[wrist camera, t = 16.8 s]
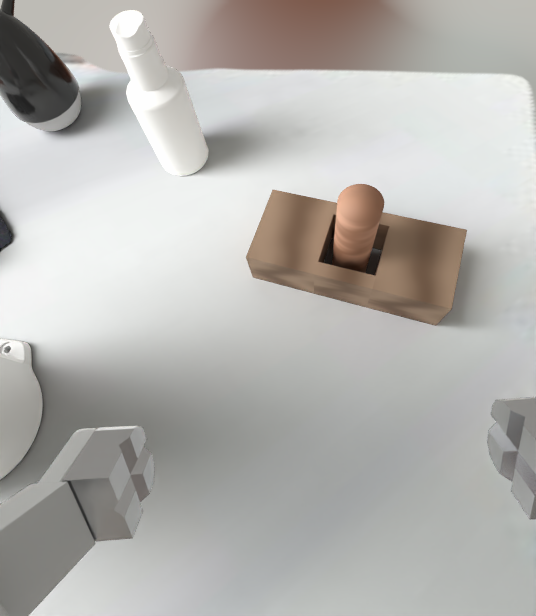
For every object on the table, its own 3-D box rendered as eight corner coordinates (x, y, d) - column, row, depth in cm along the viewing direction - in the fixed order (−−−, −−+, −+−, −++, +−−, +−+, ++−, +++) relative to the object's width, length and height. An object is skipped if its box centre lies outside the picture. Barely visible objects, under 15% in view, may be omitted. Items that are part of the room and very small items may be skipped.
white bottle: (206, 133, 54) (158, -9, 38) (212, 171, 52) (163, 35, 35) (160, 144, 54) (92, 8, 38) (163, 182, 52) (92, 53, 35)
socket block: (253, 277, 45) (245, 257, 40) (276, 215, 48) (272, 189, 43) (435, 325, 41) (451, 309, 36) (450, 253, 43) (466, 229, 39)
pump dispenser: (103, 95, 60) (37, -16, 46) (74, 146, 56) (-6, 44, 42) (49, 88, 62) (-30, -20, 48) (18, 137, 58) (-77, 37, 44)
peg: (327, 276, 44) (331, 216, 33) (336, 247, 45) (344, 180, 34) (361, 285, 43) (378, 226, 32) (370, 255, 44) (388, 188, 33)
